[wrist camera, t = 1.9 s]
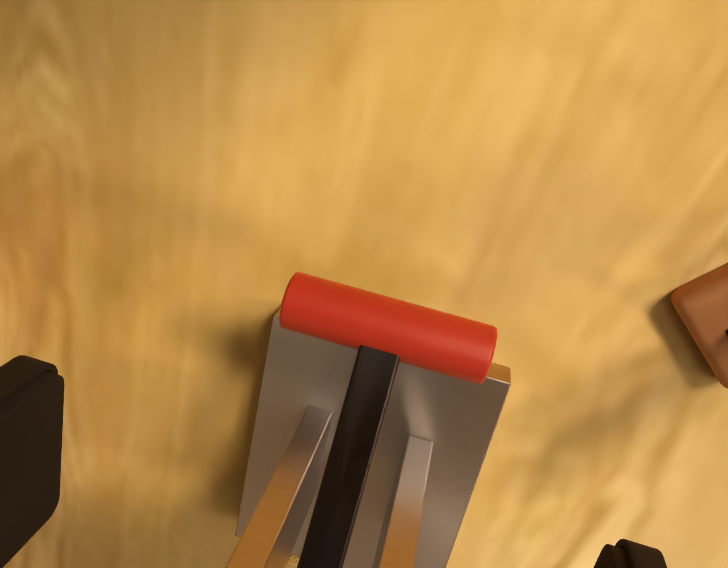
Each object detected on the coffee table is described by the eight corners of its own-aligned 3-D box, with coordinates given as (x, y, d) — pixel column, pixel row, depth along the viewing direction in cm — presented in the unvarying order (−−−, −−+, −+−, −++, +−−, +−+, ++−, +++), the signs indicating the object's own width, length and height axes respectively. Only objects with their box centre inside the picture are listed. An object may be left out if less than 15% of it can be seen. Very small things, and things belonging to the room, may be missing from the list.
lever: (304, 274, 18) (286, 267, 16) (492, 326, 18) (503, 327, 15) (185, 692, 18) (149, 749, 16) (373, 759, 17) (366, 829, 15)
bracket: (283, 303, 25) (91, 540, 13) (510, 368, 24) (521, 683, 12) (244, 517, 29) (74, 839, 18) (436, 579, 28) (392, 961, 17)
